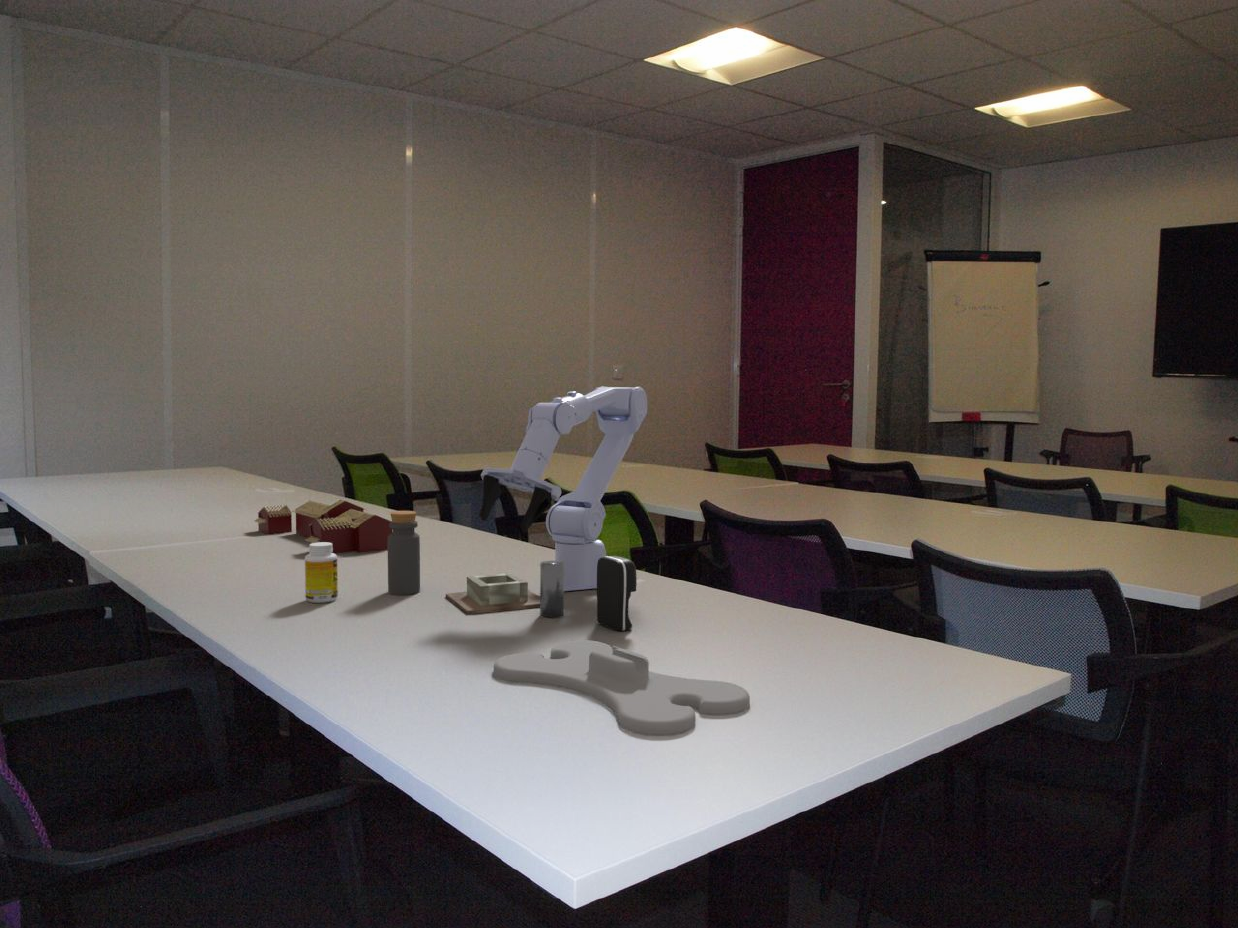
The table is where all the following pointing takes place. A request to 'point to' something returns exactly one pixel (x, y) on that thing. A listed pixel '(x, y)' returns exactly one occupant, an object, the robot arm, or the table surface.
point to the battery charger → (615, 591)
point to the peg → (552, 589)
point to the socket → (495, 594)
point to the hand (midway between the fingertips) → (502, 523)
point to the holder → (626, 685)
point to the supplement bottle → (321, 573)
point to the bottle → (403, 554)
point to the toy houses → (330, 525)
